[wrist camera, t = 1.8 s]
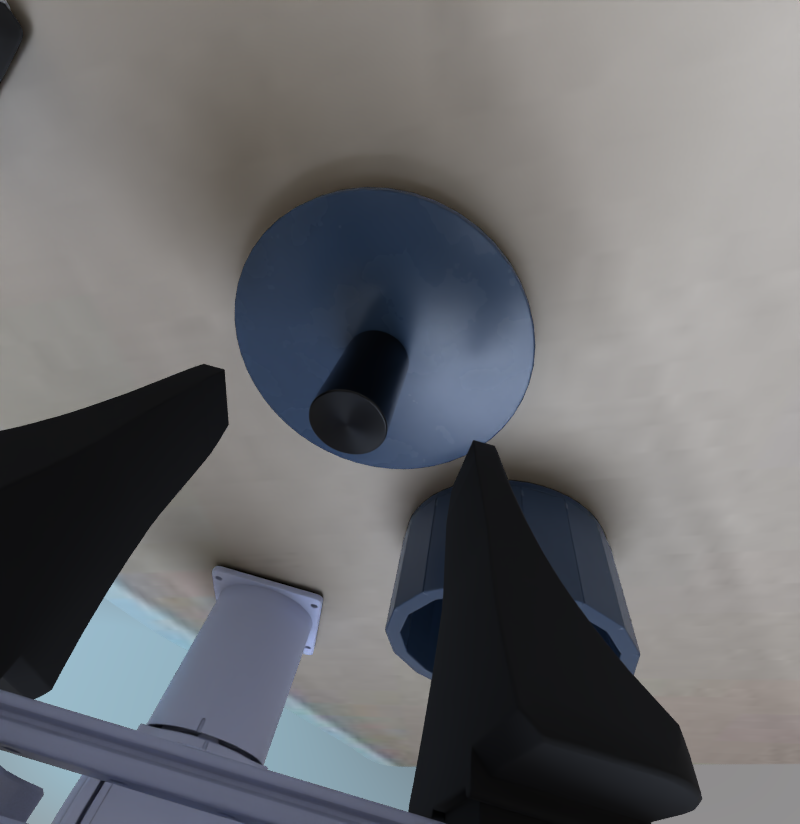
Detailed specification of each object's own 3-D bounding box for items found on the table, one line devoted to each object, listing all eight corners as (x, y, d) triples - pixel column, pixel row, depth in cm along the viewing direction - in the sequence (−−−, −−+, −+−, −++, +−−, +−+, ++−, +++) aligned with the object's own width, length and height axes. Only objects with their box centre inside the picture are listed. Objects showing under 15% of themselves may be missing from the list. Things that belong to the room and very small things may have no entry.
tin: (552, 618, 25) (565, 723, 21) (390, 572, 25) (369, 665, 21) (650, 516, 19) (699, 635, 14) (433, 454, 19) (416, 554, 14)
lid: (475, 479, 19) (471, 576, 15) (250, 415, 19) (187, 494, 15) (591, 237, 12) (641, 295, 8) (243, 142, 13) (126, 154, 8)
